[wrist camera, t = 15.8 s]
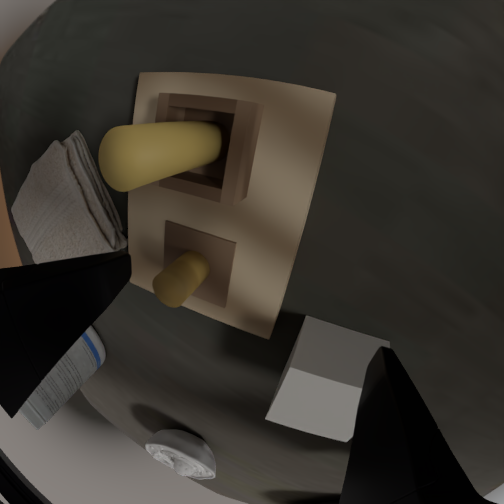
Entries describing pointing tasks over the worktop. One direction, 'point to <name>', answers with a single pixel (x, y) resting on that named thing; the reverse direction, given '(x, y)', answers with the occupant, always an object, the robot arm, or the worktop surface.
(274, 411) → the grey rounded cube
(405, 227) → the worktop surface
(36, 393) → the supplement tub
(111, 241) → the washcloth
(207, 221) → the board
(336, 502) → the casserole
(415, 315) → the worktop surface
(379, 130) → the worktop surface
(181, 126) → the peg
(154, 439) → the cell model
